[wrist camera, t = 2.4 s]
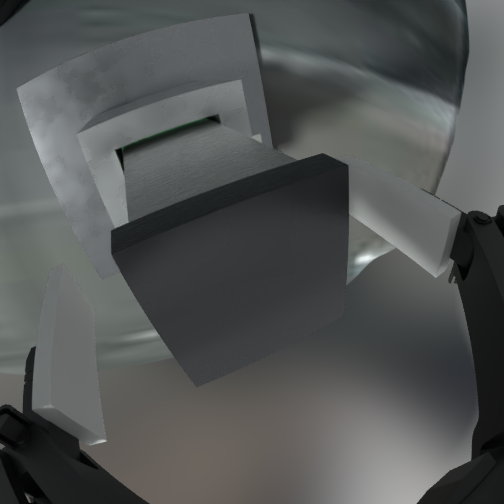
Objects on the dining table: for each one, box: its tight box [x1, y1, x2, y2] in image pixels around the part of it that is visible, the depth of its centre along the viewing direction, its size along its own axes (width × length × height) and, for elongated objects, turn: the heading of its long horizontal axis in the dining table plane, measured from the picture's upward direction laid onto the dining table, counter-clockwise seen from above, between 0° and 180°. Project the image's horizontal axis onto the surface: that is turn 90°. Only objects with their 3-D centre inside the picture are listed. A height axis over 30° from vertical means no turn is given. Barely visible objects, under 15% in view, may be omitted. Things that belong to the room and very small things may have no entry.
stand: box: [17, 13, 273, 279], centre depth 22 cm, size 22×22×11 cm
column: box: [111, 117, 349, 387], centre depth 17 cm, size 6×6×21 cm
